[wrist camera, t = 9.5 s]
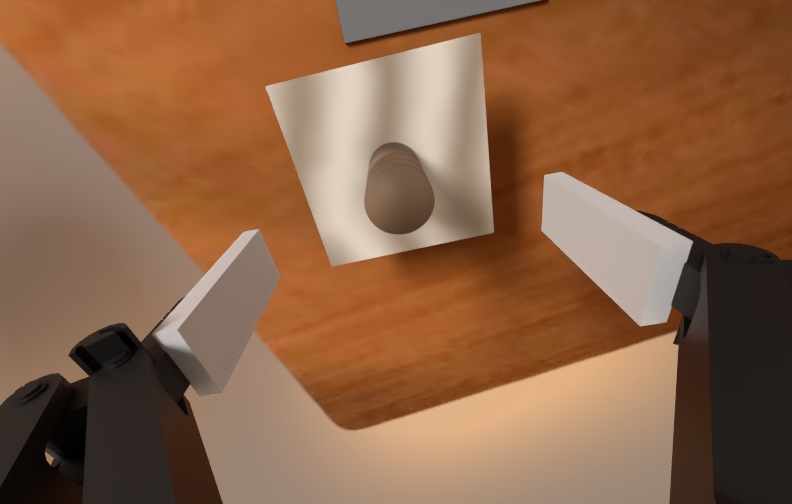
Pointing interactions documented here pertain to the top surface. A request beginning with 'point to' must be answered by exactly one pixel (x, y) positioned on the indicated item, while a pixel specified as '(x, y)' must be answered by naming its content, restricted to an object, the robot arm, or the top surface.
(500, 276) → the top surface
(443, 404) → the top surface
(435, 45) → the cover board
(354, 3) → the mat
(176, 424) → the robot arm
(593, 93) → the top surface
